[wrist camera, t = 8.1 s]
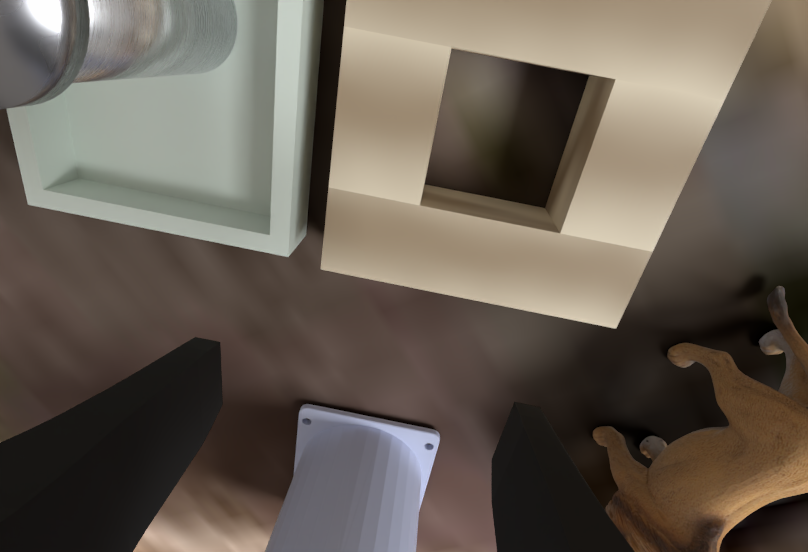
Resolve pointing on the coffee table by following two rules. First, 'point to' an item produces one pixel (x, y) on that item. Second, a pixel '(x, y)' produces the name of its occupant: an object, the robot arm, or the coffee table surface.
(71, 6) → the metal pin
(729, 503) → the lion figurine
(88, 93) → the tray
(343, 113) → the pin block
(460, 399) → the coffee table surface
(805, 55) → the coffee table surface
